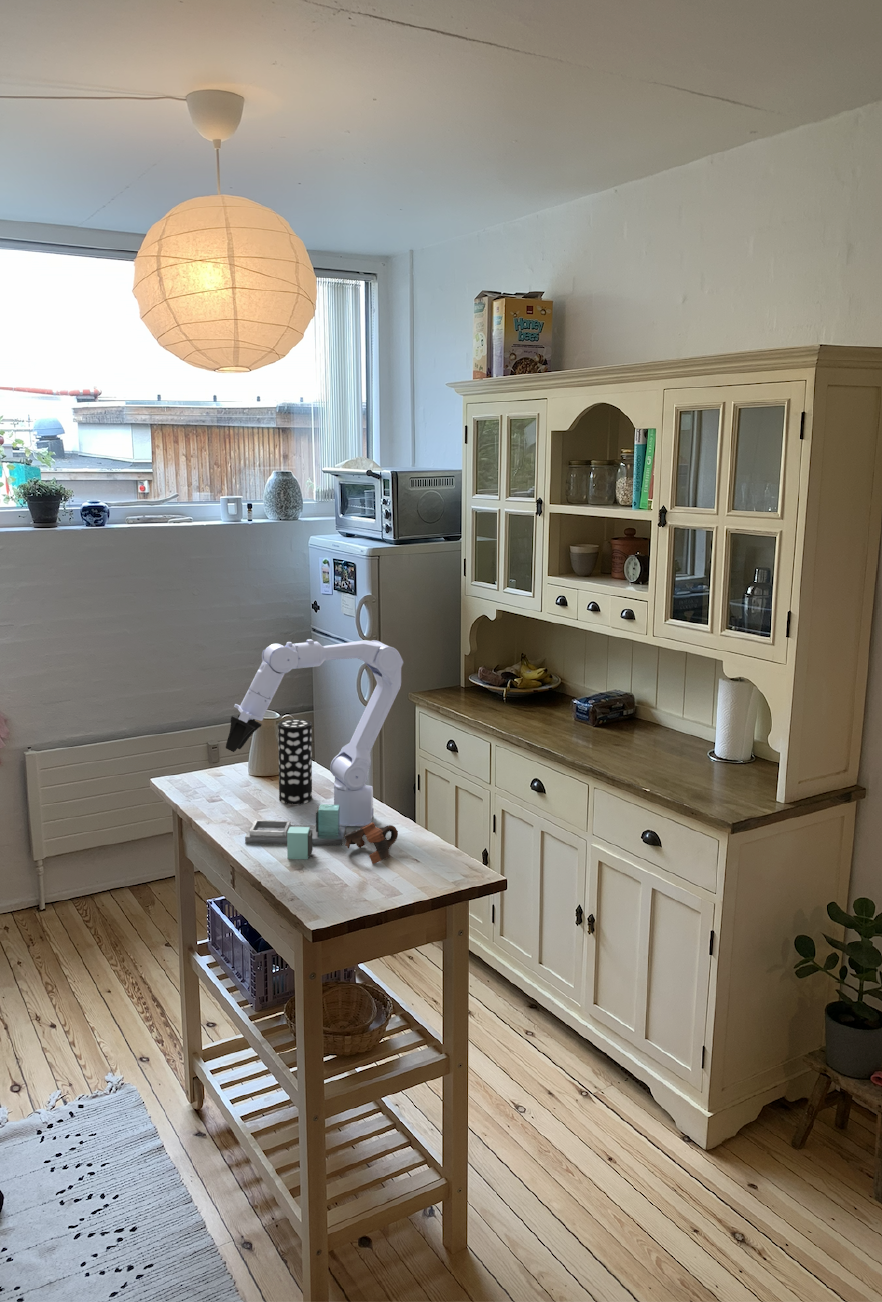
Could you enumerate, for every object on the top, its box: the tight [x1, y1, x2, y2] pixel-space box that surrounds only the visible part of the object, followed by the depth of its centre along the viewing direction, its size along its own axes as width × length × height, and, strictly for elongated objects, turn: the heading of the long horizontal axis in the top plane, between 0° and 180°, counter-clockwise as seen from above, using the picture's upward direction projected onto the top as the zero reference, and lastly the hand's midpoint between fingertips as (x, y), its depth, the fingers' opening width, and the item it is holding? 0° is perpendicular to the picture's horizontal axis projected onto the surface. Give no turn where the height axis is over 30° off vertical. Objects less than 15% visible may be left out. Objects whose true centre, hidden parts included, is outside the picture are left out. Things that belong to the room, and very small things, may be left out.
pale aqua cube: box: [286, 827, 313, 860], centre depth 213 cm, size 5×4×6 cm
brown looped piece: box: [344, 822, 399, 865], centre depth 215 cm, size 12×10×8 cm
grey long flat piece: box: [244, 803, 347, 846], centre depth 223 cm, size 22×8×8 cm, turn 90°
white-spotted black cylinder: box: [277, 718, 313, 805], centre depth 246 cm, size 8×8×20 cm
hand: (232, 748), depth 217 cm, fingers open, 7 cm apart
